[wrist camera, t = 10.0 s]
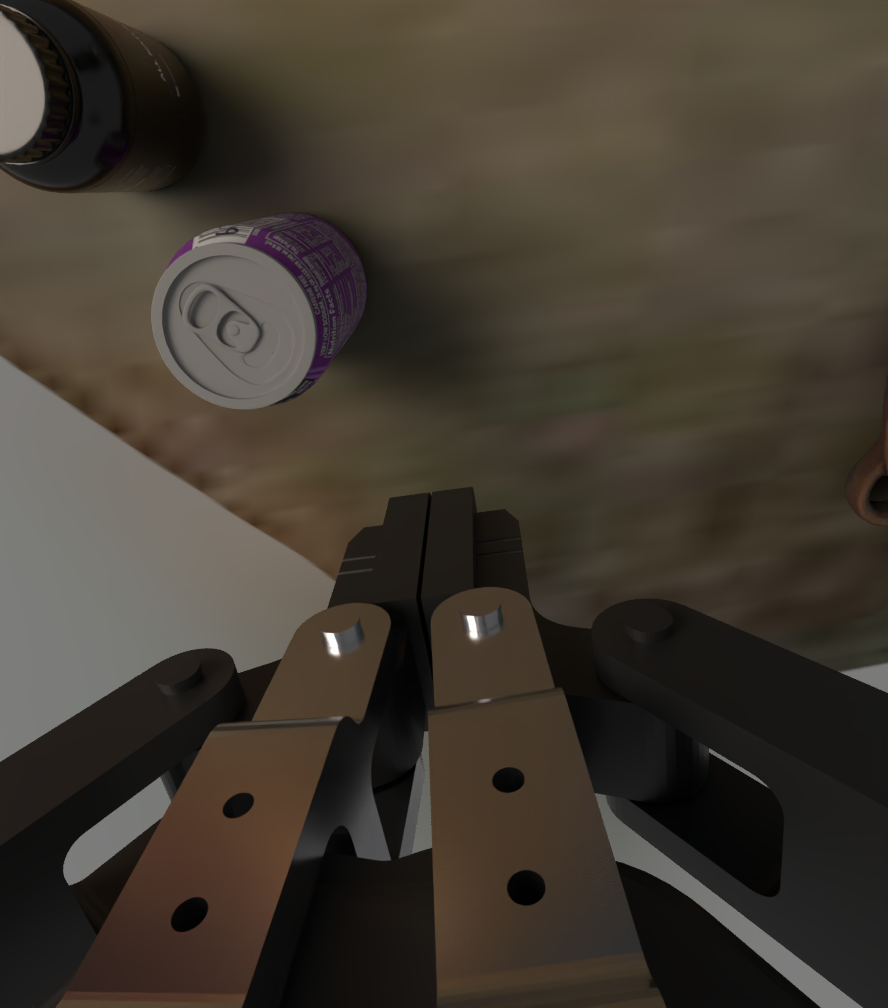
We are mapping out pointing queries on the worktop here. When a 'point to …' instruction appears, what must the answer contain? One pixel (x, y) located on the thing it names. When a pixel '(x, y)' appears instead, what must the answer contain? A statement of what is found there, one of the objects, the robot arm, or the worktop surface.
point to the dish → (870, 477)
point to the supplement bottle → (91, 102)
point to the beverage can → (258, 309)
